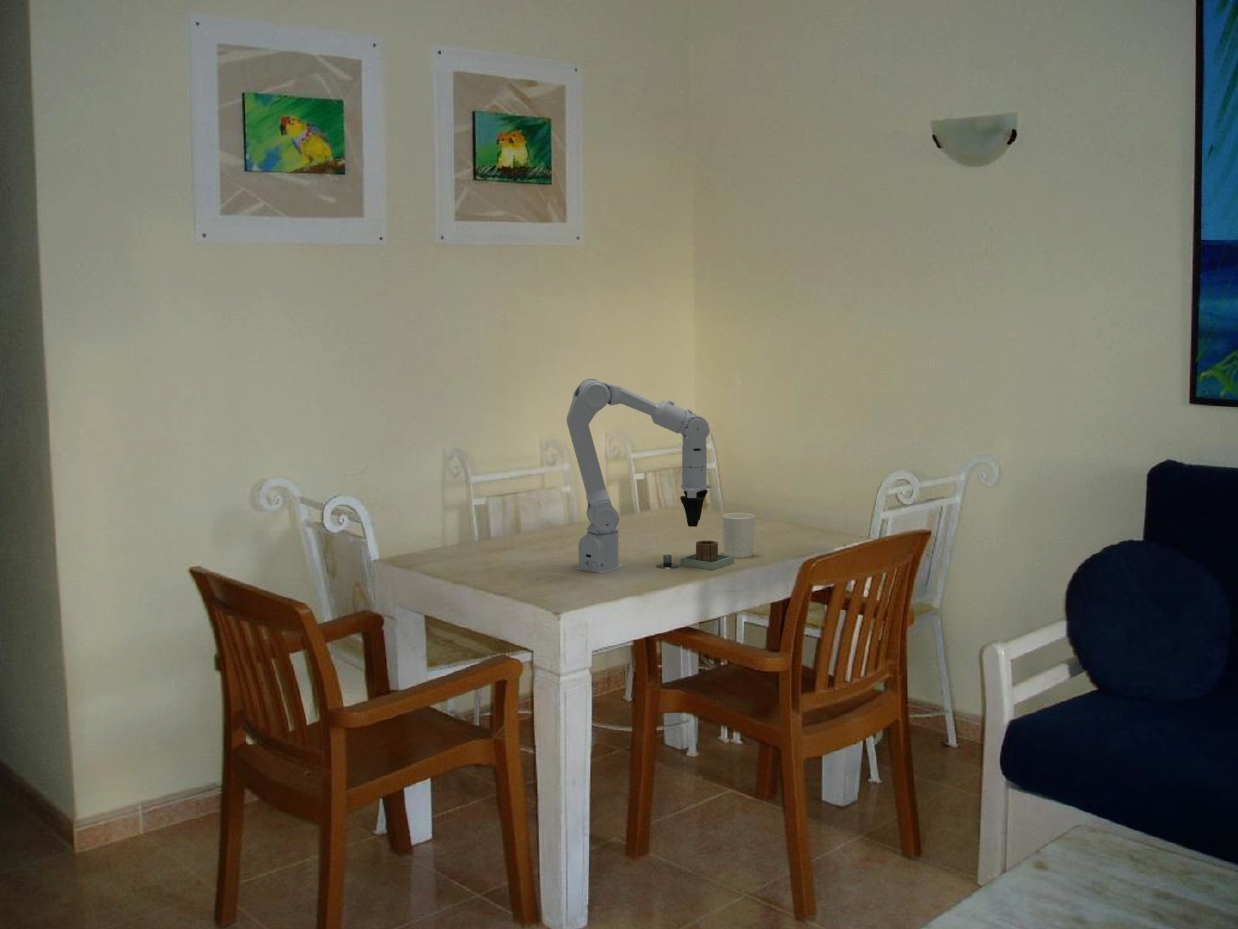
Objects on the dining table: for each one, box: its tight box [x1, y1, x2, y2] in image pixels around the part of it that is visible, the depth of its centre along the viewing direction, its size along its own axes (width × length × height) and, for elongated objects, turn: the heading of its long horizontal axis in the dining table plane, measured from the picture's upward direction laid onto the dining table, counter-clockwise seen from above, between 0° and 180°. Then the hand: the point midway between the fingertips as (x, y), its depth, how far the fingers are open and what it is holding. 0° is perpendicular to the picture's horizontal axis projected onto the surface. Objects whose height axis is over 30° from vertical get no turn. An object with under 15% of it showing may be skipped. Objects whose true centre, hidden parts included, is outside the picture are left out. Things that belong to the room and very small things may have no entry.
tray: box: [680, 553, 735, 571], centre depth 301 cm, size 9×9×2 cm
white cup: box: [721, 512, 756, 559], centre depth 311 cm, size 8×8×10 cm
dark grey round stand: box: [655, 554, 680, 570], centre depth 300 cm, size 6×6×3 cm
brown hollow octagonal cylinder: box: [692, 540, 719, 563], centre depth 301 cm, size 6×5×5 cm
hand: (694, 523), depth 302 cm, fingers open, 7 cm apart
